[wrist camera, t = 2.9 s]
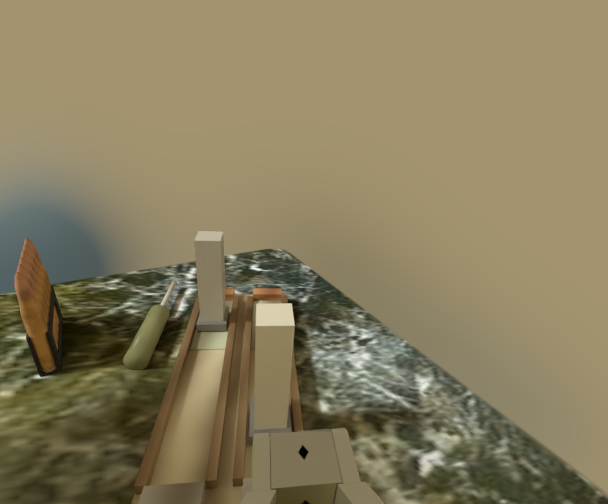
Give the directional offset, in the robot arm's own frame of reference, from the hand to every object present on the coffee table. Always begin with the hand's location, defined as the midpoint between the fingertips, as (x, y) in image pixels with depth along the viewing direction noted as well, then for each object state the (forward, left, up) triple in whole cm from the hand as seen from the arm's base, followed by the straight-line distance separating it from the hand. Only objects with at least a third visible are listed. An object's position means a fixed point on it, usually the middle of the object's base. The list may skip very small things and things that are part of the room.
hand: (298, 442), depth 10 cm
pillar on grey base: (-7, +28, -17) cm, 33 cm away
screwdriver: (-15, +29, -18) cm, 38 cm away
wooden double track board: (-4, +21, -18) cm, 28 cm away
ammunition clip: (-26, +26, -18) cm, 41 cm away
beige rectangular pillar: (0, +13, -17) cm, 21 cm away
